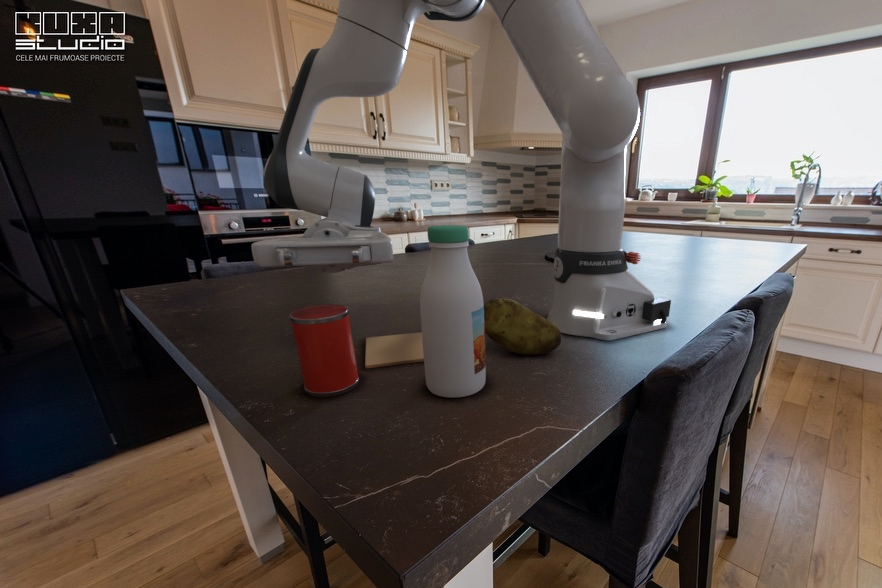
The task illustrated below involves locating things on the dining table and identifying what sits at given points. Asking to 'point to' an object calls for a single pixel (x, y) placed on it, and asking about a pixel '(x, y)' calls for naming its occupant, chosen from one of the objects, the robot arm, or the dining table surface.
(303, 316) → the tomato tin
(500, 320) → the potato
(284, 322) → the dining table surface
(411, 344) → the cork mat
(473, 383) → the milk bottle
